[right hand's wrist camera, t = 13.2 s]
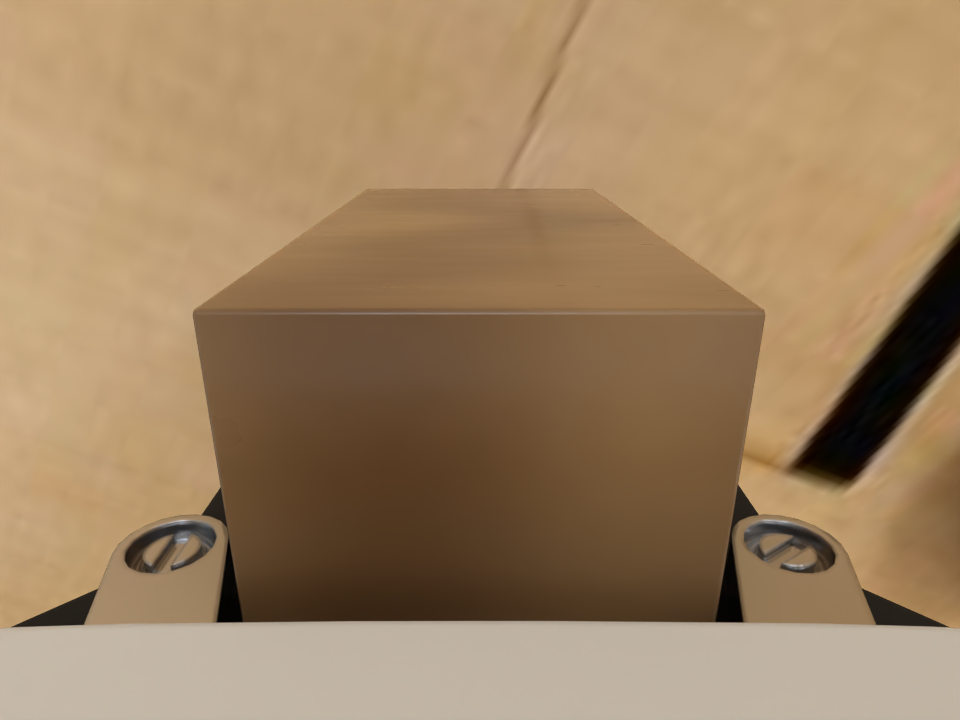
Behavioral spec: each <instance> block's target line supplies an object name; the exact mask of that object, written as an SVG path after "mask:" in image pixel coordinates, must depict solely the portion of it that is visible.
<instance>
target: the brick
mask: <svg viewBox="0 0 960 720" xmlns="http://www.w3.org/2000/svg"><path fill="white" fill-rule="evenodd" d="M193 319H194V325H195V331H196V337H197V344H198V350H199V356H200V362H201V368H202V374H203V381H204V387H205V393H206V399H207V405H208V411H209V417H210V424H211V430H212V436H213V442H214V448H215V454H216V460H217V467H218V473H219V479H220V485H221V491H222V497H223V503H224V510H225V516H226V522H227V528H228V534H229V540H230V546H231V553H232V559H233V565H234V571H235V577H236V583H237V590H238V596H239V602H240V608H241V614H242V620H243V622H330V621H606V622H716V617H717V611H718V604H719V598H720V592H721V586H722V580H723V573H724V567H725V561H726V555H727V549H728V542H729V536H730V530H731V524H732V518H733V512H734V505H735V499H736V493H737V487H738V481H739V474H740V468H741V462H742V456H743V450H744V443H745V437H746V431H747V425H748V419H749V413H750V406H751V400H752V394H753V388H754V382H755V375H756V369H757V363H758V357H759V351H760V344H761V338H762V332H763V326H764V320H765V312H764V310H763V309H762V308H760V307H759V306H758V305H756V304H755V303H753V302H752V301H751V300H749V299H748V298H746V297H745V296H743V295H742V294H741V293H739V292H738V291H736V290H735V289H734V288H732V287H731V286H729V285H728V284H726V283H725V282H724V281H722V280H721V279H719V278H718V277H717V276H715V275H714V274H712V273H711V272H709V271H708V270H707V269H705V268H704V267H702V266H701V265H700V264H698V263H697V262H695V261H694V260H692V259H691V258H690V257H688V256H687V255H685V254H684V253H683V252H681V251H680V250H678V249H677V248H675V247H674V246H673V245H671V244H670V243H668V242H667V241H666V240H664V239H663V238H661V237H660V236H658V235H657V234H656V233H654V232H653V231H651V230H650V229H649V228H647V227H646V226H644V225H643V224H641V223H640V222H639V221H637V220H636V219H634V218H633V217H632V216H630V215H629V214H627V213H626V212H624V211H623V210H622V209H620V208H619V207H617V206H616V205H615V204H613V203H612V202H610V201H609V200H607V199H606V198H605V197H603V196H602V195H600V194H599V193H598V192H596V191H595V190H593V189H367V190H365V191H364V192H363V193H361V194H360V195H358V196H357V197H355V198H354V199H353V200H351V201H350V202H348V203H347V204H345V205H344V206H342V207H341V208H340V209H338V210H337V211H335V212H334V213H332V214H331V215H330V216H328V217H327V218H325V219H324V220H322V221H321V222H320V223H318V224H317V225H315V226H314V227H312V228H311V229H309V230H308V231H307V232H305V233H304V234H302V235H301V236H299V237H298V238H297V239H295V240H294V241H292V242H291V243H289V244H288V245H286V246H285V247H284V248H282V249H281V250H279V251H278V252H276V253H275V254H274V255H272V256H271V257H269V258H268V259H266V260H265V261H264V262H262V263H261V264H259V265H258V266H256V267H255V268H253V269H252V270H251V271H249V272H248V273H246V274H245V275H243V276H242V277H241V278H239V279H238V280H236V281H235V282H233V283H232V284H230V285H229V286H228V287H226V288H225V289H223V290H222V291H220V292H219V293H218V294H216V295H215V296H213V297H212V298H210V299H209V300H207V301H206V302H205V303H203V304H202V305H200V306H199V307H197V308H196V309H195V310H194V312H193Z"/></svg>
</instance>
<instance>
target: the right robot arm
mask: <svg viewBox="0 0 960 720" xmlns="http://www.w3.org/2000/svg"><path fill="white" fill-rule="evenodd" d="M0 720H960V628H950V627H948V626H945V625H943V624H941V623H939V622H936V621H934V620H932V619H930V618H927V617H925V616H923V615H921V614H918V613H916V612H914V611H912V610H909V609H907V608H905V607H903V606H900V605H898V604H896V603H893V602H891V601H889V600H887V599H884V598H882V597H880V596H878V595H875V594H873V593H871V592H869V591H866V590H864V589H862V588H861V586H860V583H859V581H858V578H857V576H856V573H855V571H854V568H853V566H852V563H851V561H850V558H849V556H848V554H847V552H846V551H845V549H844V548H843V546H842V545H841V543H839V542H838V541H837V540H836V539H835V538H834V537H832V536H831V535H830V534H829V533H827V532H825V531H823V530H821V529H820V528H818V527H816V526H814V525H812V524H809V523H806V522H804V521H801V520H798V519H794V518H790V517H785V516H780V515H759V514H758V513H757V512H756V510H755V509H754V507H753V506H752V504H751V503H750V501H749V500H748V498H747V497H746V496H745V494H744V493H743V491H742V490H741V488H740V487H739V485H738V487H737V493H736V499H735V505H734V512H733V518H732V524H731V530H730V536H729V542H728V549H727V555H726V561H725V567H724V573H723V580H722V586H721V592H720V598H719V604H718V611H717V617H716V622H606V621H330V622H243V620H242V614H241V608H240V602H239V596H238V590H237V583H236V577H235V571H234V565H233V559H232V553H231V546H230V540H229V534H228V528H227V522H226V516H225V510H224V503H223V497H222V491H221V488H220V489H219V491H218V492H217V494H216V495H215V496H214V498H213V499H212V501H211V502H210V504H209V505H208V507H207V508H206V510H205V511H204V512H203V514H202V515H180V516H175V517H170V518H166V519H162V520H159V521H156V522H154V523H151V524H148V525H146V526H144V527H142V528H140V529H139V530H137V531H135V532H133V533H131V534H130V535H129V536H128V537H126V538H125V539H124V540H123V541H122V542H121V543H119V545H118V546H117V548H116V549H115V551H114V552H113V554H112V556H111V558H110V561H109V563H108V566H107V568H106V571H105V573H104V576H103V578H102V581H101V583H100V586H99V588H98V589H96V590H94V591H92V592H90V593H87V594H85V595H83V596H81V597H78V598H76V599H74V600H72V601H69V602H67V603H65V604H62V605H60V606H58V607H56V608H53V609H51V610H49V611H47V612H44V613H42V614H40V615H38V616H35V617H33V618H31V619H29V620H26V621H24V622H22V623H19V624H17V625H15V626H13V627H10V628H0Z"/></svg>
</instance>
